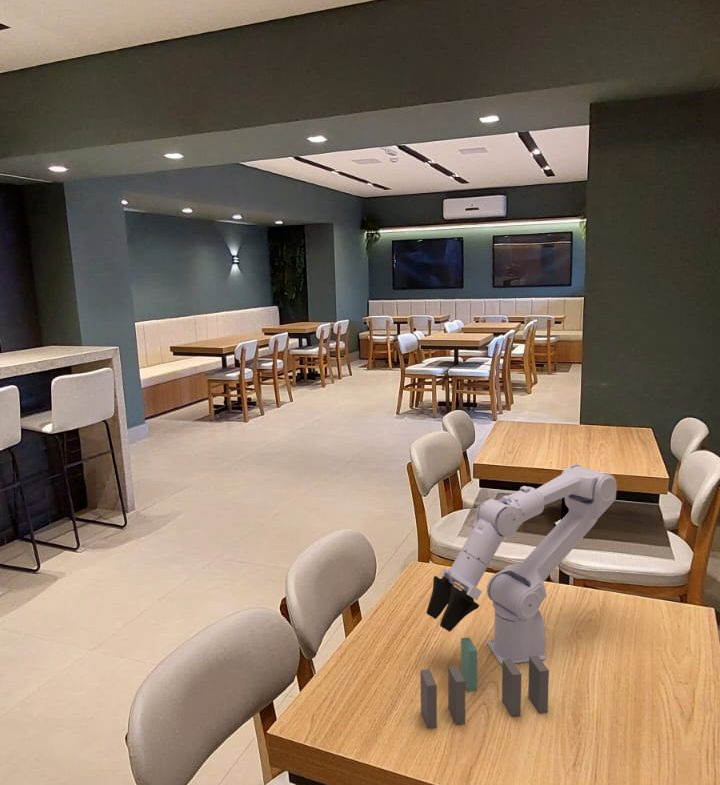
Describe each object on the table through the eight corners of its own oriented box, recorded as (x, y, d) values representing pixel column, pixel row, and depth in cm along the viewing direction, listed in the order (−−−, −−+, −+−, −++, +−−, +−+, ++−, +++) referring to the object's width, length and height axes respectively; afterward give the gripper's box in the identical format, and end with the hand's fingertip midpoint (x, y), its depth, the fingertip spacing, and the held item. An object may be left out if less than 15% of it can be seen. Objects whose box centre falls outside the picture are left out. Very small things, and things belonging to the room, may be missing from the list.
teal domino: (468, 675, 117) (469, 637, 116) (476, 690, 113) (477, 650, 112) (460, 676, 117) (461, 638, 116) (468, 691, 113) (468, 651, 111)
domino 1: (429, 710, 108) (429, 668, 107) (436, 727, 104) (436, 684, 102) (420, 711, 108) (420, 670, 106) (427, 728, 103) (427, 685, 102)
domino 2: (456, 706, 109) (457, 665, 107) (465, 723, 104) (465, 681, 103) (448, 707, 108) (448, 666, 107) (456, 724, 104) (456, 682, 103)
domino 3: (510, 699, 110) (511, 658, 109) (520, 715, 106) (521, 673, 105) (501, 700, 110) (502, 659, 109) (511, 717, 106) (512, 675, 104)
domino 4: (536, 695, 111) (537, 655, 110) (547, 712, 107) (548, 670, 105) (528, 697, 111) (529, 656, 109) (539, 713, 106) (540, 671, 105)
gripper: (444, 540, 123) (408, 600, 120) (472, 555, 108) (433, 623, 106) (471, 558, 124) (437, 618, 121) (503, 575, 109) (465, 643, 107)
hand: (437, 622), depth 114 cm, fingers open, 7 cm apart
